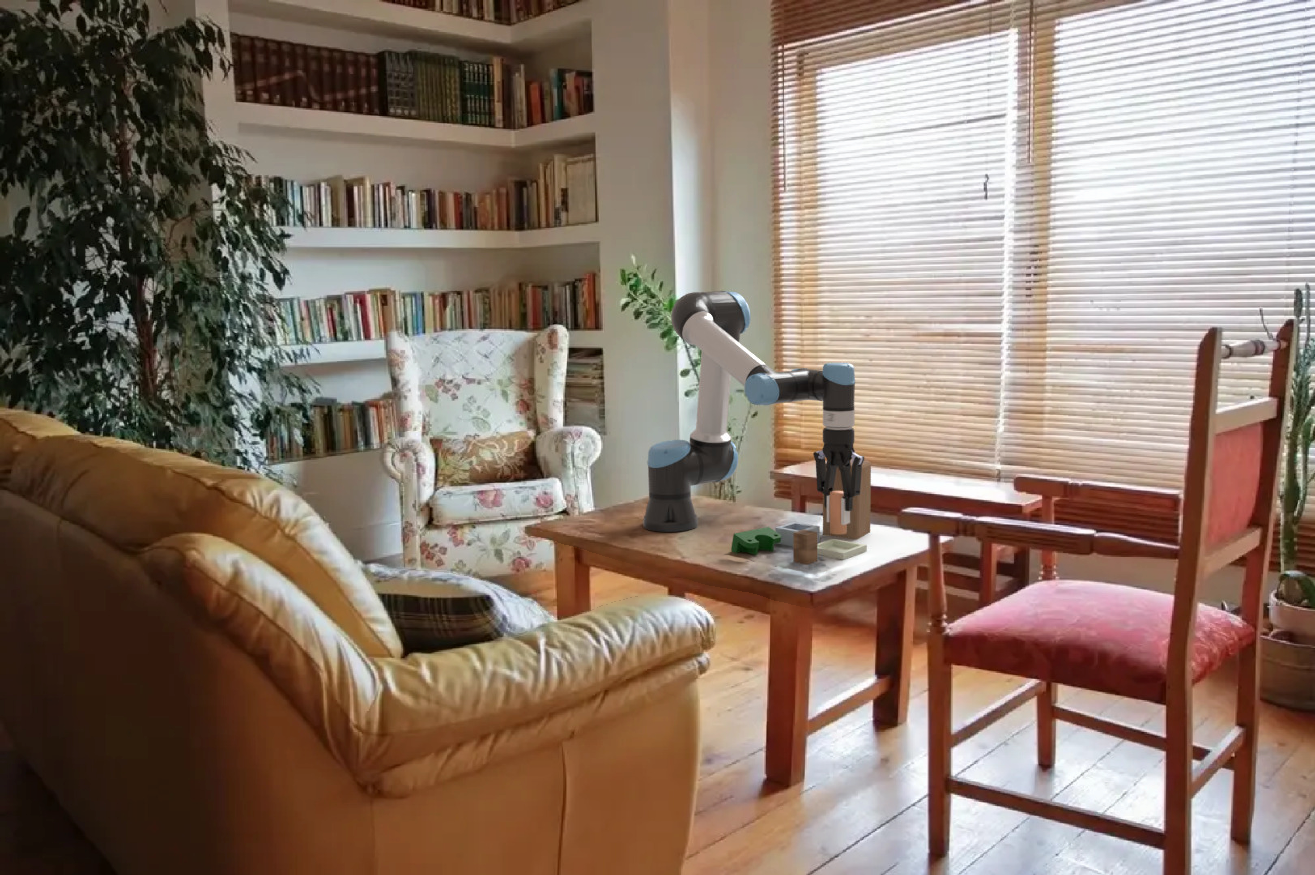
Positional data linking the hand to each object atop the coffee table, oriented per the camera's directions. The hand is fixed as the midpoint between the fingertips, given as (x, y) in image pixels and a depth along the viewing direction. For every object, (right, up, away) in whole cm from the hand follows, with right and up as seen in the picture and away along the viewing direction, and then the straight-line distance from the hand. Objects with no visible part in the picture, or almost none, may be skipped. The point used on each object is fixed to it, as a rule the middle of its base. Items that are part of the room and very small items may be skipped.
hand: (838, 522), depth 252 cm
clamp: (-19, -9, +4) cm, 22 cm away
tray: (0, -8, +1) cm, 8 cm away
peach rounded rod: (0, -3, 0) cm, 3 cm away
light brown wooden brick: (-9, -10, -6) cm, 15 cm away
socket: (-8, -7, +11) cm, 16 cm away
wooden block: (+6, -6, +20) cm, 21 cm away
